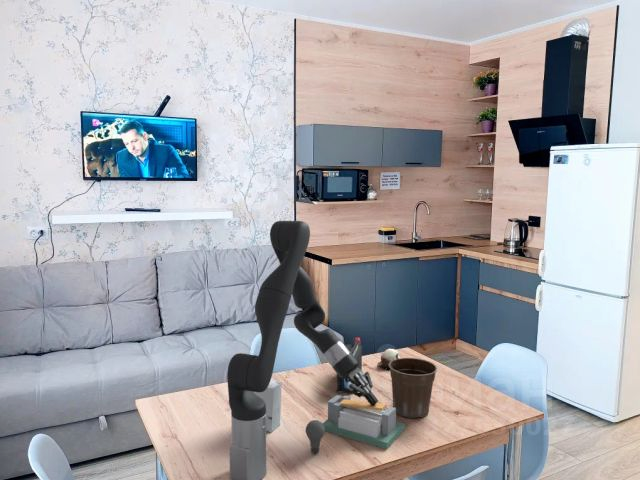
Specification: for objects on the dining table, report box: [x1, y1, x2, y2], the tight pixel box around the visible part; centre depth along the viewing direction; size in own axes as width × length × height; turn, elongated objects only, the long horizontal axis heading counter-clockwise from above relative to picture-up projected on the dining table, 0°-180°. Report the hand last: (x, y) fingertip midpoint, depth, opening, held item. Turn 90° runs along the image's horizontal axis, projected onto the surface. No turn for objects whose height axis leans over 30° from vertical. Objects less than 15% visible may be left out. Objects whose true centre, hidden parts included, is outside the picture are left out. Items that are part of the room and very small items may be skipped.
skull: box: [376, 348, 401, 371], centre depth 225 cm, size 12×10×10 cm
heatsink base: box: [321, 394, 406, 450], centre depth 169 cm, size 14×22×8 cm, turn 59°
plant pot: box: [389, 357, 438, 419], centre depth 182 cm, size 16×16×16 cm
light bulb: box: [305, 419, 326, 455], centre depth 155 cm, size 6×6×10 cm
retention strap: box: [340, 399, 387, 411], centre depth 169 cm, size 15×4×1 cm, turn 59°
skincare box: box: [252, 379, 283, 433], centre depth 171 cm, size 8×6×15 cm
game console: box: [336, 336, 363, 394], centre depth 207 cm, size 28×6×15 cm, turn 167°
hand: (375, 403), depth 166 cm, fingers closed
